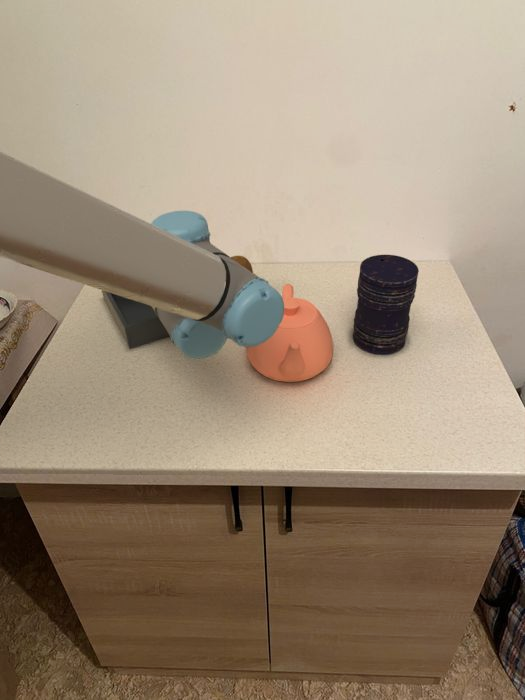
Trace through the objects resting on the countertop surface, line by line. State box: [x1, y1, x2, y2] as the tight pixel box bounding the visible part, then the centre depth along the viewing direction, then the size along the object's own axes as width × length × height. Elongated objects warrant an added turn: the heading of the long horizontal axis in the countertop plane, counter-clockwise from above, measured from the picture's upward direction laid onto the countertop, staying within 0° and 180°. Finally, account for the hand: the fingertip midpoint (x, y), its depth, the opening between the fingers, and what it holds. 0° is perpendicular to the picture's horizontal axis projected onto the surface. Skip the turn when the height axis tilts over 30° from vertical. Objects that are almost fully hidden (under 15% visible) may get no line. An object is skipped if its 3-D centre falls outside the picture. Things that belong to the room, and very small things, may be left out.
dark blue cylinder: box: [352, 254, 420, 356], centre depth 89 cm, size 10×10×15 cm
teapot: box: [246, 283, 334, 383], centre depth 85 cm, size 22×15×12 cm
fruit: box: [230, 255, 254, 273], centre depth 106 cm, size 6×6×8 cm
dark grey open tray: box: [101, 290, 170, 350], centre depth 101 cm, size 14×20×5 cm
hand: (128, 234), depth 96 cm, fingers open, 3 cm apart
